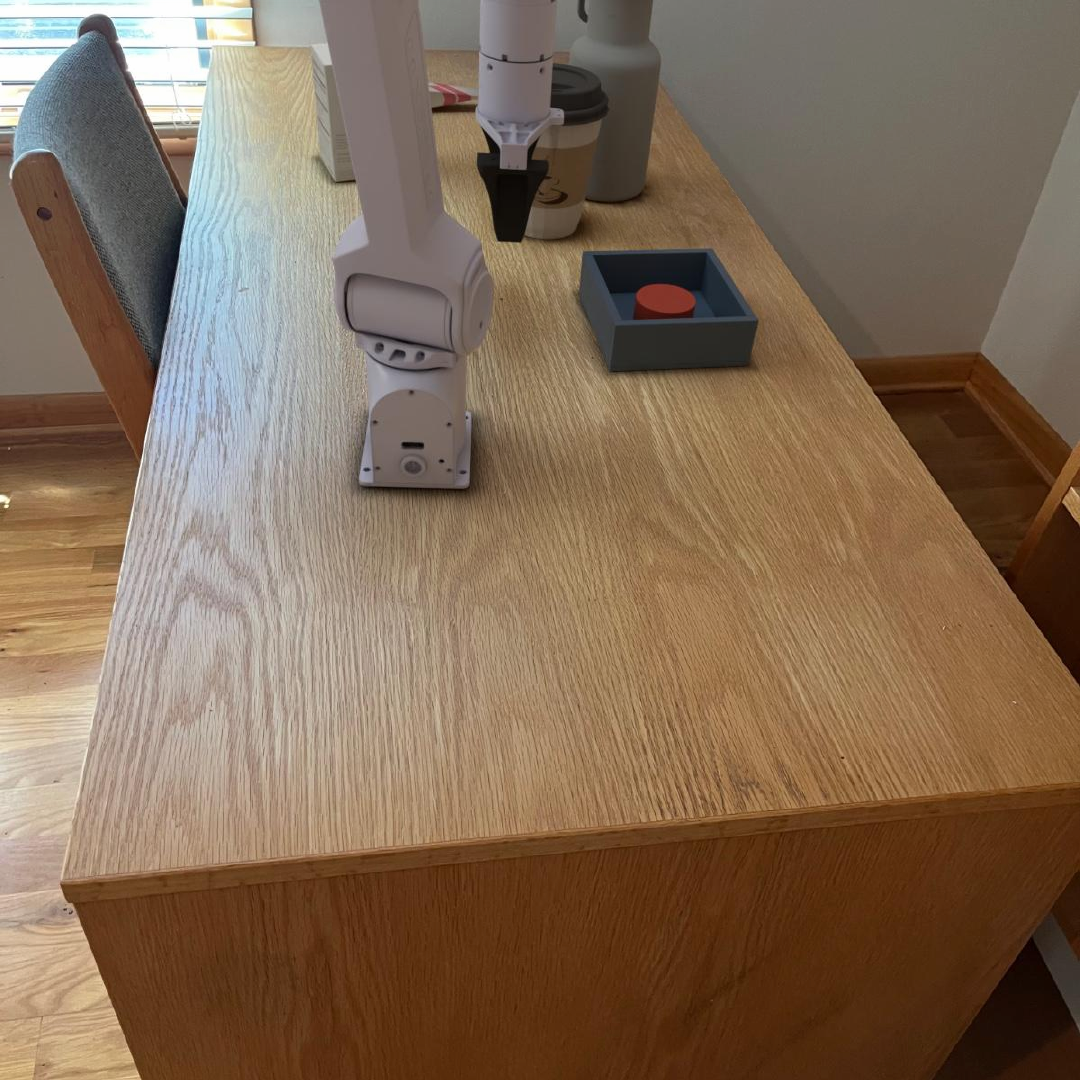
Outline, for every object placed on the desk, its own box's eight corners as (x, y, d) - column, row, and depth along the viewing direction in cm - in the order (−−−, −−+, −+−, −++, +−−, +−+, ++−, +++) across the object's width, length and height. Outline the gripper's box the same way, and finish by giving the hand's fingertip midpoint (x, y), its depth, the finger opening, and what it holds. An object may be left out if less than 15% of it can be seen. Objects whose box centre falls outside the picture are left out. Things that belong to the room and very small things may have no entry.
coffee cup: (486, 244, 105) (491, 92, 95) (494, 198, 113) (498, 55, 103) (597, 252, 105) (613, 101, 95) (596, 206, 113) (610, 63, 104)
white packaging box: (380, 152, 121) (375, 38, 113) (397, 177, 116) (393, 59, 108) (318, 158, 119) (308, 41, 111) (333, 183, 114) (323, 63, 105)
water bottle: (548, 170, 120) (567, -108, 102) (627, 166, 123) (659, -106, 104) (573, 206, 113) (598, -86, 94) (656, 201, 115) (696, -84, 97)
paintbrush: (487, 86, 131) (329, 92, 129) (488, 108, 133) (331, 114, 130) (484, 76, 134) (329, 81, 131) (485, 98, 135) (332, 103, 133)
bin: (748, 365, 90) (759, 320, 87) (609, 371, 88) (615, 325, 85) (704, 291, 100) (712, 247, 97) (578, 294, 98) (582, 250, 95)
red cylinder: (695, 340, 92) (700, 314, 90) (635, 337, 92) (639, 311, 90) (687, 310, 96) (691, 284, 94) (629, 308, 96) (633, 282, 94)
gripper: (572, 85, 73) (559, 261, 82) (564, 27, 84) (553, 188, 93) (474, 80, 73) (471, 257, 82) (478, 22, 84) (475, 184, 93)
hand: (509, 220), depth 88 cm, fingers open, 7 cm apart
